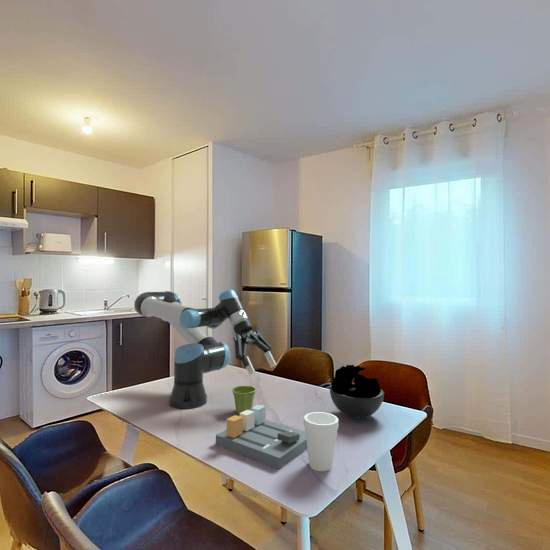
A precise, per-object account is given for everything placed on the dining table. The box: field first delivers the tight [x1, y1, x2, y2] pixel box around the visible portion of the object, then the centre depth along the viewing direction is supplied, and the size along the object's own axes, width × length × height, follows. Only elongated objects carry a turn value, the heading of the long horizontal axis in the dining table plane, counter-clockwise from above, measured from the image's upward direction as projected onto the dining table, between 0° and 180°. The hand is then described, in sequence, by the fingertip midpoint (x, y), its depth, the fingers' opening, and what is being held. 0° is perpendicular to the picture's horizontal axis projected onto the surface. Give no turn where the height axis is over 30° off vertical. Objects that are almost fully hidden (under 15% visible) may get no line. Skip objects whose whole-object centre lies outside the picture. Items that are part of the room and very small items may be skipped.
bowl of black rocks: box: [329, 364, 385, 419], centre depth 135 cm, size 20×20×19 cm
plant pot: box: [231, 385, 257, 414], centre depth 139 cm, size 9×9×9 cm
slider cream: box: [238, 410, 255, 431], centre depth 115 cm, size 3×4×5 cm
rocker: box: [277, 431, 300, 443], centre depth 106 cm, size 4×6×2 cm, turn 145°
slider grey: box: [251, 404, 267, 425], centre depth 120 cm, size 3×4×5 cm
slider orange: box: [226, 414, 243, 438], centre depth 110 cm, size 3×4×5 cm
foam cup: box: [303, 411, 339, 472], centre depth 99 cm, size 10×9×13 cm
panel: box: [215, 419, 307, 470], centre depth 111 cm, size 24×19×4 cm
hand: (263, 369), depth 142 cm, fingers open, 13 cm apart
